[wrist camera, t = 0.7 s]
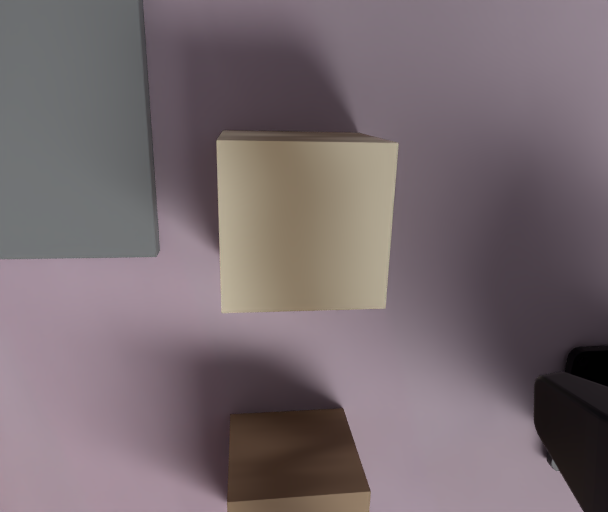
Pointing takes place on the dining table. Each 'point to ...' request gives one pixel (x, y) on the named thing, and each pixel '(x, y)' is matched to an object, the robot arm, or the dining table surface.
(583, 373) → the robot arm
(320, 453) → the rectangular block
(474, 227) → the dining table surface
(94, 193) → the slate mat
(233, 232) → the ash block
